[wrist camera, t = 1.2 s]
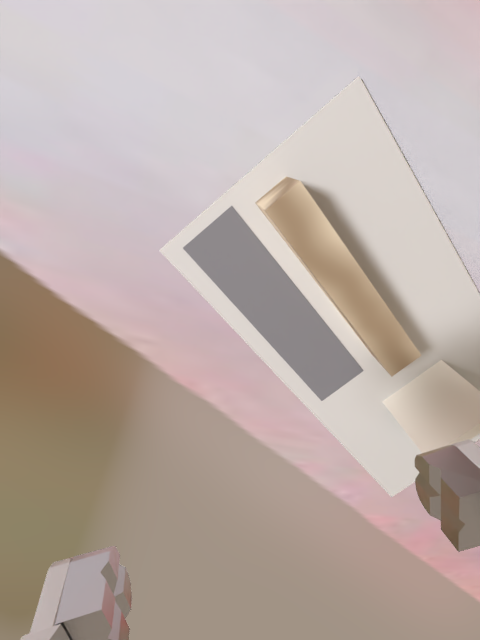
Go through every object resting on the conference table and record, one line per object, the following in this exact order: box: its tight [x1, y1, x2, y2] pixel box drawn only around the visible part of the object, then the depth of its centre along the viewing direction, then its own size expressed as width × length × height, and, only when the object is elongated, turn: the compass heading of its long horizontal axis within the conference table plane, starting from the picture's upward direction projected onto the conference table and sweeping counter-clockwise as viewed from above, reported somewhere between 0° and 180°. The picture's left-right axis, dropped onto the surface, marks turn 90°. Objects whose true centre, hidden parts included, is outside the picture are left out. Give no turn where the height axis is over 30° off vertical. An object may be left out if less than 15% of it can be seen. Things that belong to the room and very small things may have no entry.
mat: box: [160, 76, 480, 497], centre depth 37 cm, size 19×38×1 cm, turn 39°
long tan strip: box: [255, 177, 421, 377], centre depth 32 cm, size 3×18×4 cm, turn 39°
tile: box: [382, 360, 480, 453], centre depth 36 cm, size 7×1×8 cm, turn 129°
